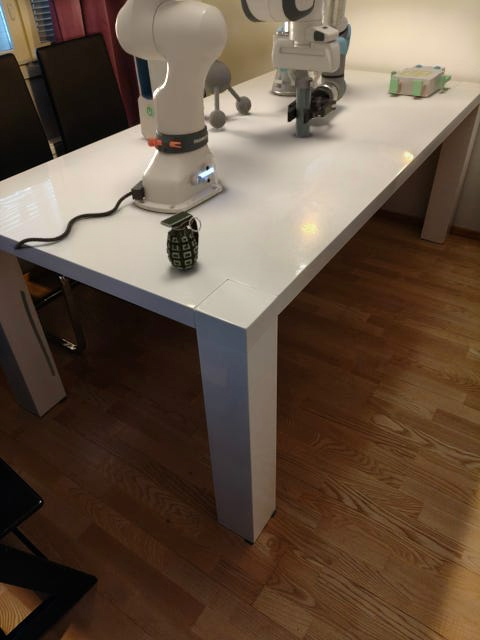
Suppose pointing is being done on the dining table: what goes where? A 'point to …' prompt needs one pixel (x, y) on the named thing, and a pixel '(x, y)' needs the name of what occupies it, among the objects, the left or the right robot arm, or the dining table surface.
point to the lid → (303, 82)
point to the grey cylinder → (302, 111)
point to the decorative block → (418, 80)
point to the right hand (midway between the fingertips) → (296, 118)
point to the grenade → (182, 240)
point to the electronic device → (149, 92)
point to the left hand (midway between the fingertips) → (303, 86)
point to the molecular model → (217, 84)
